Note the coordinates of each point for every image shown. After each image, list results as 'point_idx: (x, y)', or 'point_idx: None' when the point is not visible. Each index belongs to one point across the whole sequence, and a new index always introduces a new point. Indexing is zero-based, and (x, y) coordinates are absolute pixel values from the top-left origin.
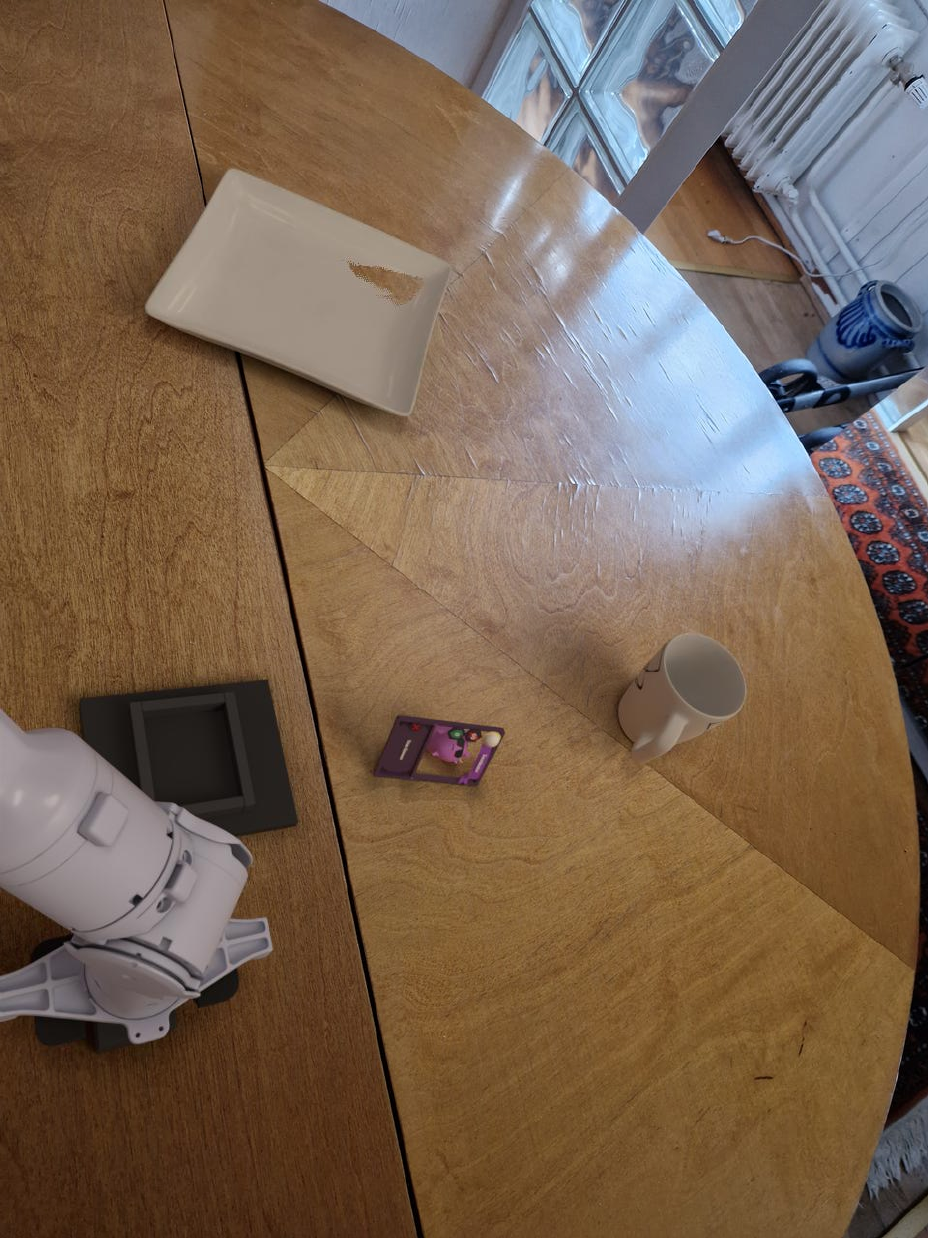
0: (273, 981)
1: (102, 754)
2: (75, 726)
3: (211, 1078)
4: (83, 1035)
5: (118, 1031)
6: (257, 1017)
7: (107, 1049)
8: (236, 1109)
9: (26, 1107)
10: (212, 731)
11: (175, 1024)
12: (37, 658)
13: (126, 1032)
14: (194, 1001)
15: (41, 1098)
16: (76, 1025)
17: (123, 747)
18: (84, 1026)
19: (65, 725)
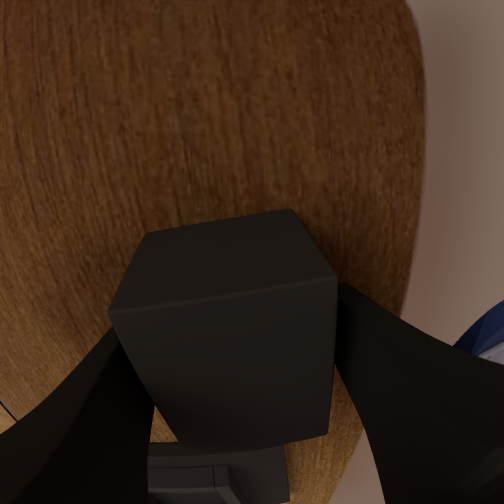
0: (7, 299)
1: (273, 489)
2: (292, 485)
3: (60, 147)
4: (500, 455)
5: (280, 310)
6: (10, 250)
7: (279, 225)
8: (20, 95)
9: (406, 139)
10: (169, 499)
11: (111, 317)
12: (315, 497)
13: (256, 308)
14: (48, 461)
15: (385, 147)
16: (499, 469)
17: (253, 493)
18: (477, 468)
19: (300, 484)
